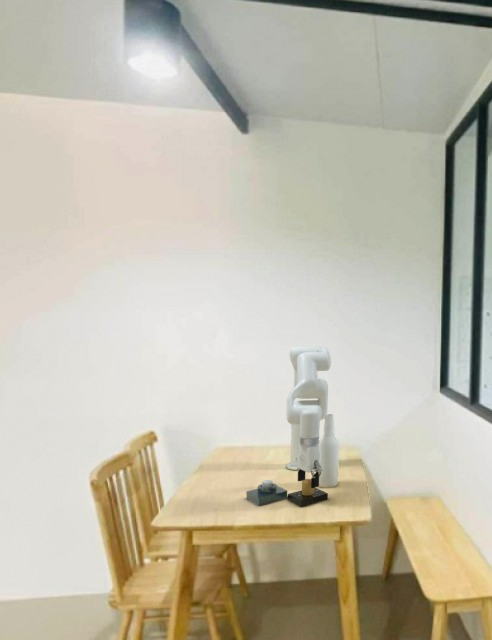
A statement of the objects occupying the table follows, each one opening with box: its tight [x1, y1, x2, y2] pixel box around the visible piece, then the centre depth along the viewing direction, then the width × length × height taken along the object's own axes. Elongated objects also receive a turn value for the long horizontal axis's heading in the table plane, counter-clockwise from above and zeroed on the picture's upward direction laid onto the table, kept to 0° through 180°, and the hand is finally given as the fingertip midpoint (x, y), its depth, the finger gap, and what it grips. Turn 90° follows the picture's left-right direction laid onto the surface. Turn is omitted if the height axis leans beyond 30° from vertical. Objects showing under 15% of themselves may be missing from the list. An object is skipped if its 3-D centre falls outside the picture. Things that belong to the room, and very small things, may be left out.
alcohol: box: [318, 413, 340, 489], centre depth 217 cm, size 9×9×30 cm
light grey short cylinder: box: [261, 479, 274, 488], centre depth 199 cm, size 4×4×2 cm
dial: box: [301, 478, 314, 496], centre depth 198 cm, size 5×5×5 cm
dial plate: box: [287, 487, 329, 508], centre depth 198 cm, size 12×10×3 cm
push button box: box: [246, 482, 288, 507], centre depth 199 cm, size 12×10×5 cm
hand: (308, 483), depth 199 cm, fingers open, 9 cm apart
